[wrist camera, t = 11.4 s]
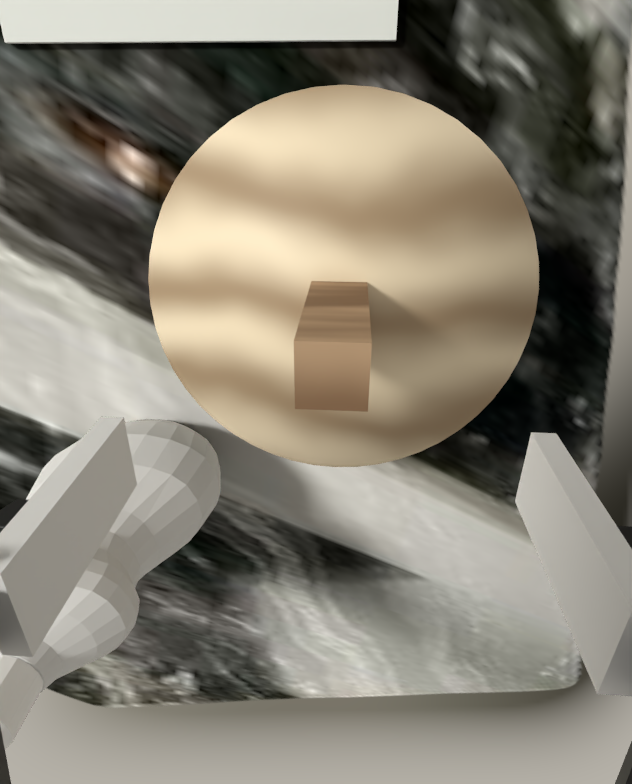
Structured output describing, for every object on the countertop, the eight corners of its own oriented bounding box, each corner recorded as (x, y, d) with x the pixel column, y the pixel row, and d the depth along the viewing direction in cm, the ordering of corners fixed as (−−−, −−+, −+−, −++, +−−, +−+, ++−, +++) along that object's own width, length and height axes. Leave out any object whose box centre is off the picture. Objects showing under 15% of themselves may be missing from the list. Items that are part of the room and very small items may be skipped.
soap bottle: (209, 381, 46) (13, 718, 19) (252, 483, 50) (141, 863, 24) (47, 420, 49) (-311, 757, 23) (102, 513, 54) (-139, 878, 27)
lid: (126, 86, 28) (1, 63, 18) (574, 86, 27) (702, 60, 17) (178, 451, 39) (118, 559, 29) (498, 464, 38) (549, 584, 28)
